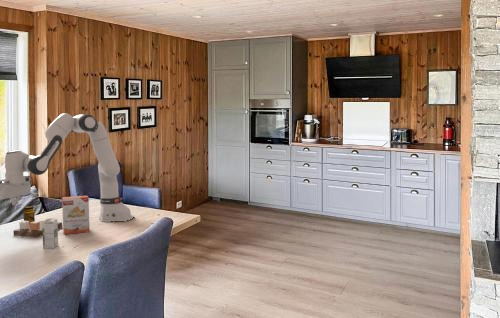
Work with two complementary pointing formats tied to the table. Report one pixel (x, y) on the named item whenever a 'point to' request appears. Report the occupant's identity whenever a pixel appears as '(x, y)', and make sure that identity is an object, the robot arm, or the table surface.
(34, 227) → the orange fader
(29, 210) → the condiment
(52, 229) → the syrup box
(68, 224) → the cracker box
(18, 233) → the console
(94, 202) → the table surface
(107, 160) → the robot arm
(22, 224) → the white fader
